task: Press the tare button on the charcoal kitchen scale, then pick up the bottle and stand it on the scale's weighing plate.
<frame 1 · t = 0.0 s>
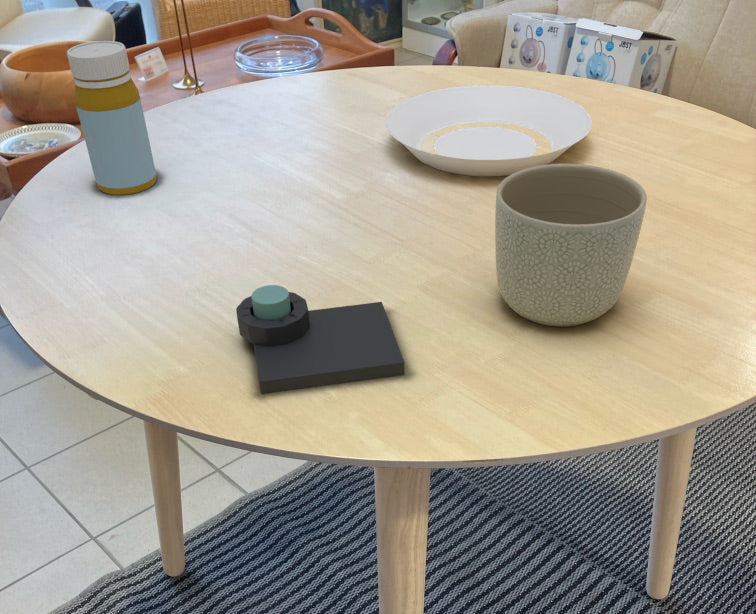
planter: (556, 309, 79), on the table
bowl: (485, 150, 107), on the table
tare button: (271, 303, 73), point 4 cm above the table, slide at 0.1 cm
scale: (325, 355, 74), on the table
bottle: (128, 188, 102), on the table
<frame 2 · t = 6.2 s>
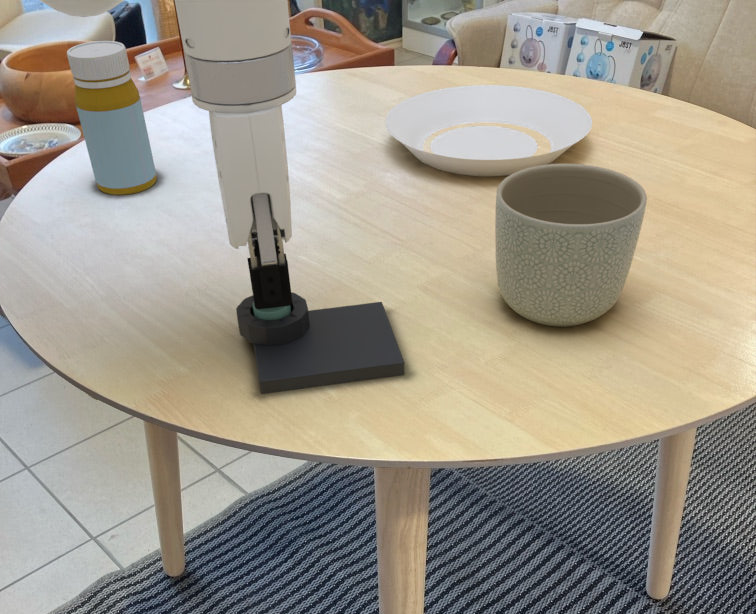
hand: (273, 302, 73), 4 cm above the table, tool pointing down, fingers closed
tare button: (272, 311, 74), point 3 cm above the table, slide at -0.7 cm, touching gripper
everything else where it was.
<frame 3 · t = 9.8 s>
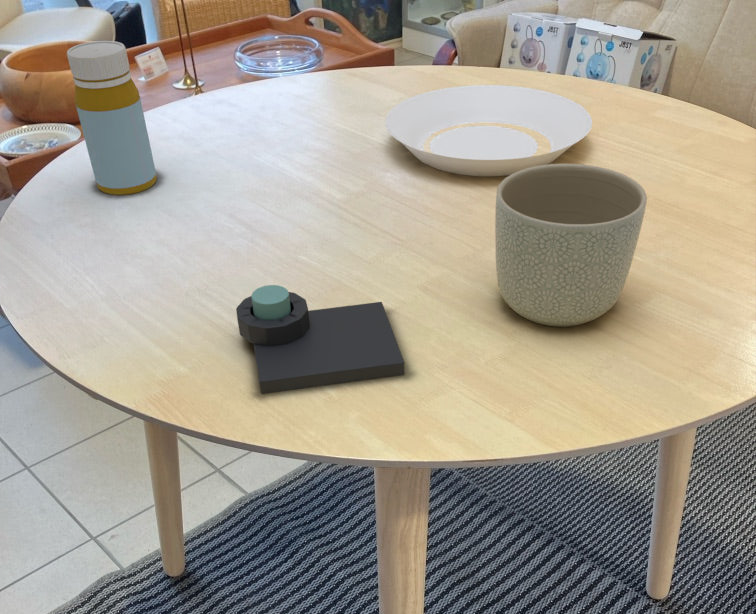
tare button: (271, 303, 73), point 4 cm above the table, slide at 0.1 cm
everything else where it was.
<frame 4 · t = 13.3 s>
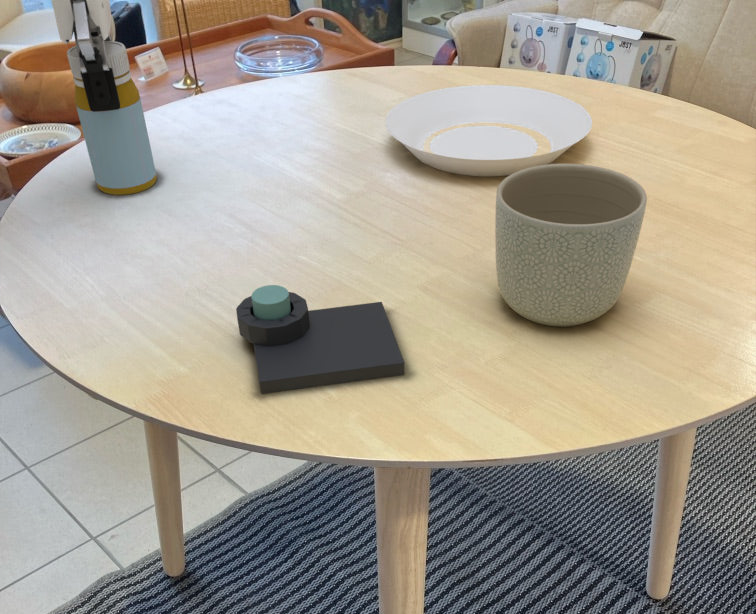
hand: (107, 96, 95), 10 cm above the table, tool pointing down, fingers closed on bottle, 7 cm apart
bottle: (128, 188, 102), on the table, touching gripper
everything else where it was.
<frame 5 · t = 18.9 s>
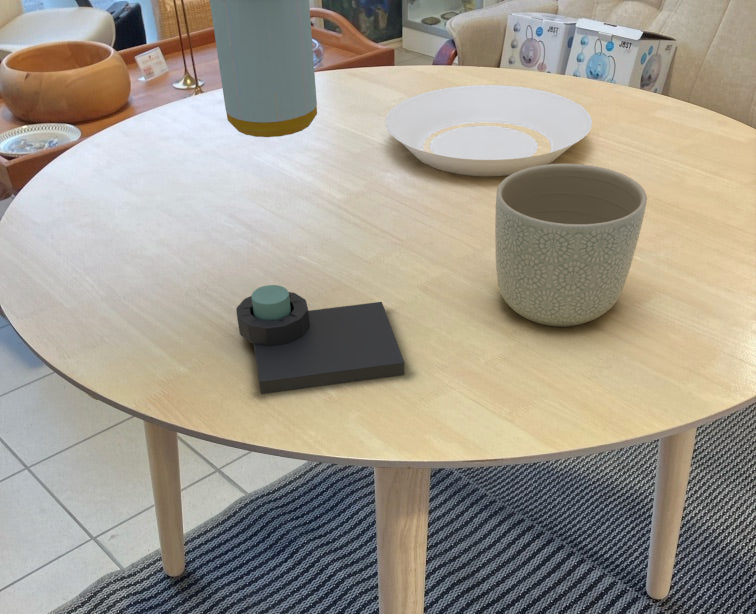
bottle: (273, 125, 67), point 17 cm above the table, touching gripper
everything else where it was.
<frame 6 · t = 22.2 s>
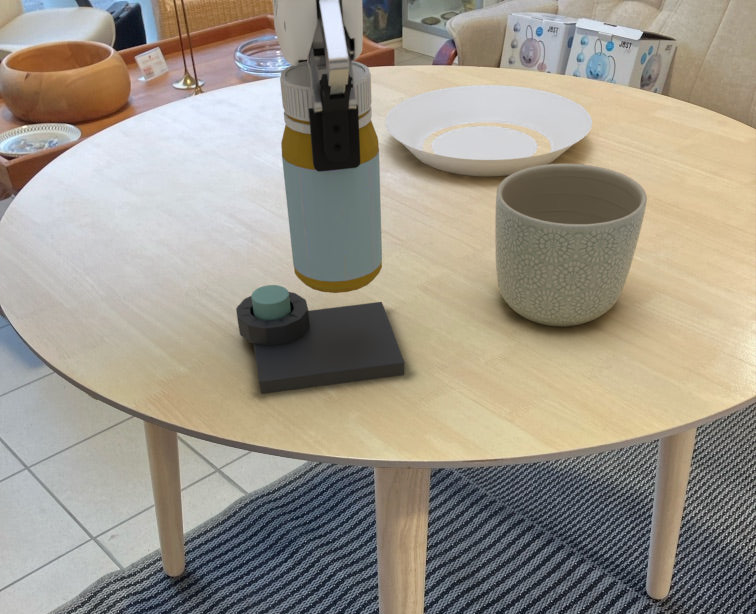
hand: (328, 145, 61), 18 cm above the table, tool pointing down, fingers closed on bottle, 7 cm apart
bottle: (338, 276, 68), point 8 cm above the table, touching gripper
everything else where it was.
when the fingers open (12 cm above the table, at t = 24.7 s): bottle stays where it is, resting on scale.
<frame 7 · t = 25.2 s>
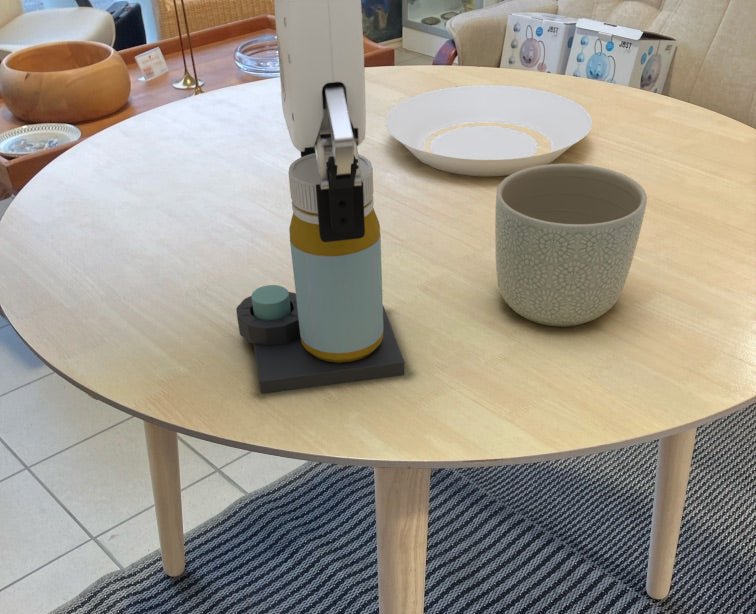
hand: (332, 209, 65), 14 cm above the table, tool pointing down, fingers open, 9 cm apart
bottle: (342, 344, 73), point 2 cm above the table, touching scale
everything else where it was.
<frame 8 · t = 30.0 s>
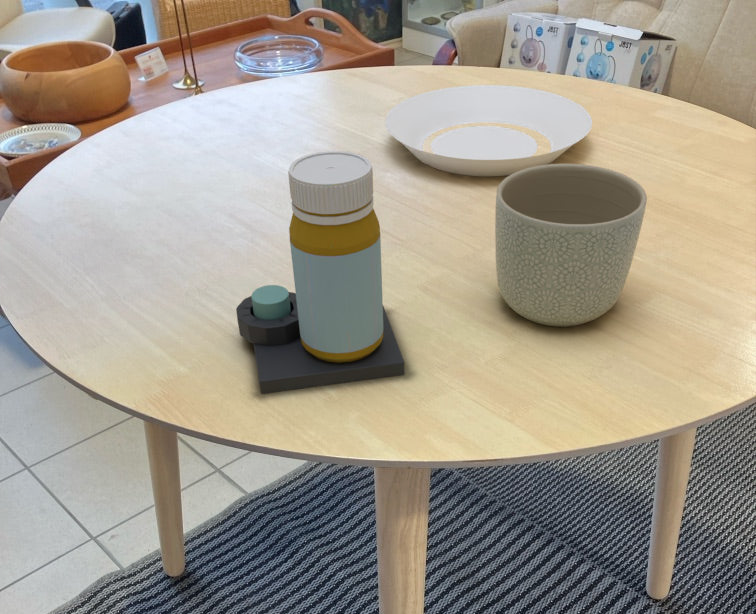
nothing on the table moved.
at the end: tare button pushed in 1.1 cm at the most during the clip, back to where it started at the end; bottle inside the target area on the scale (0.0 cm from its centre), point 1.5 cm above the scale's base; bottle tilted 0° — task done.
